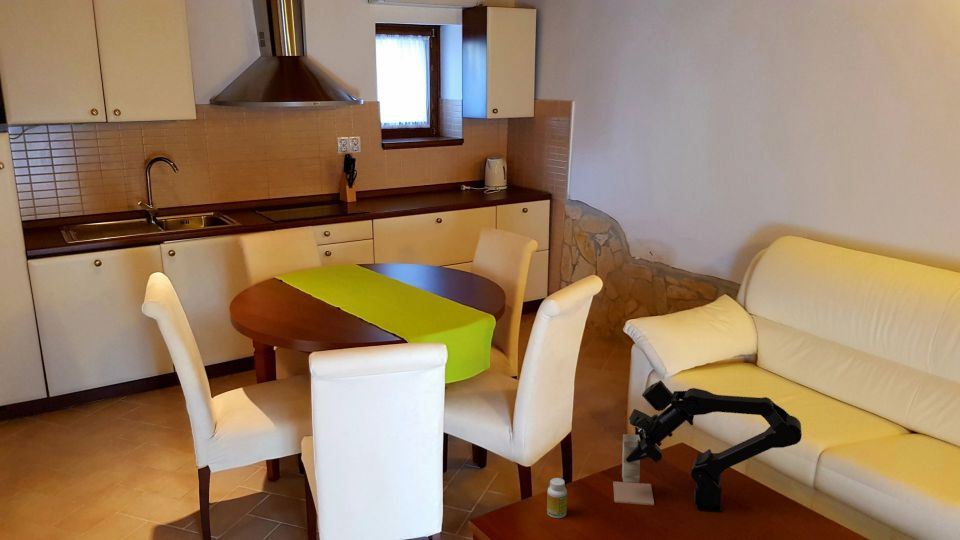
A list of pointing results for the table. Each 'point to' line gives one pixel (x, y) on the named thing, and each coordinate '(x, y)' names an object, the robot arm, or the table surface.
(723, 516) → the table surface
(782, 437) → the robot arm
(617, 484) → the plate
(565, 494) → the supplement bottle
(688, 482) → the table surface
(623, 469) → the birch pillar
